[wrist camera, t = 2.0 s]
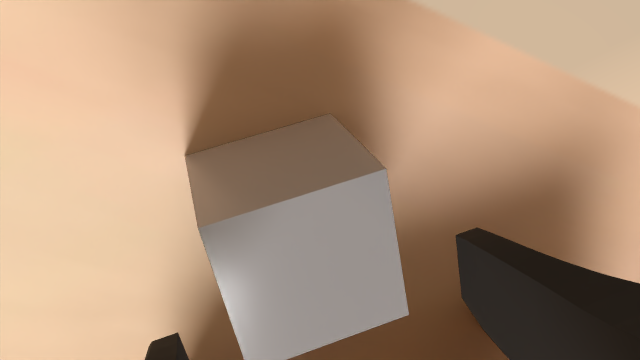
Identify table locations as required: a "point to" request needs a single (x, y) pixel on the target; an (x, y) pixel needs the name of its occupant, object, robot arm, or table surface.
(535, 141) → the table surface
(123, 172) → the table surface
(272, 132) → the pale grey cube
